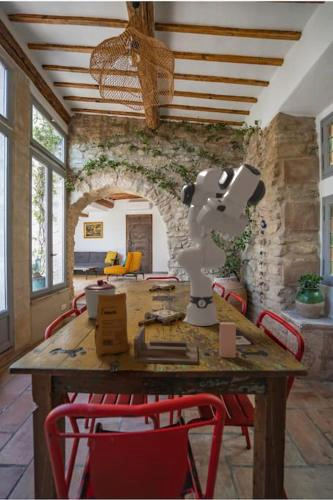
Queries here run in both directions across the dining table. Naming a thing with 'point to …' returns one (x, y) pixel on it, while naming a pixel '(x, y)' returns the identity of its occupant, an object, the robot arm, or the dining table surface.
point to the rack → (163, 350)
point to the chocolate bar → (242, 339)
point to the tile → (227, 339)
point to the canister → (96, 296)
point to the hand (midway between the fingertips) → (212, 240)
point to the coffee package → (111, 324)
